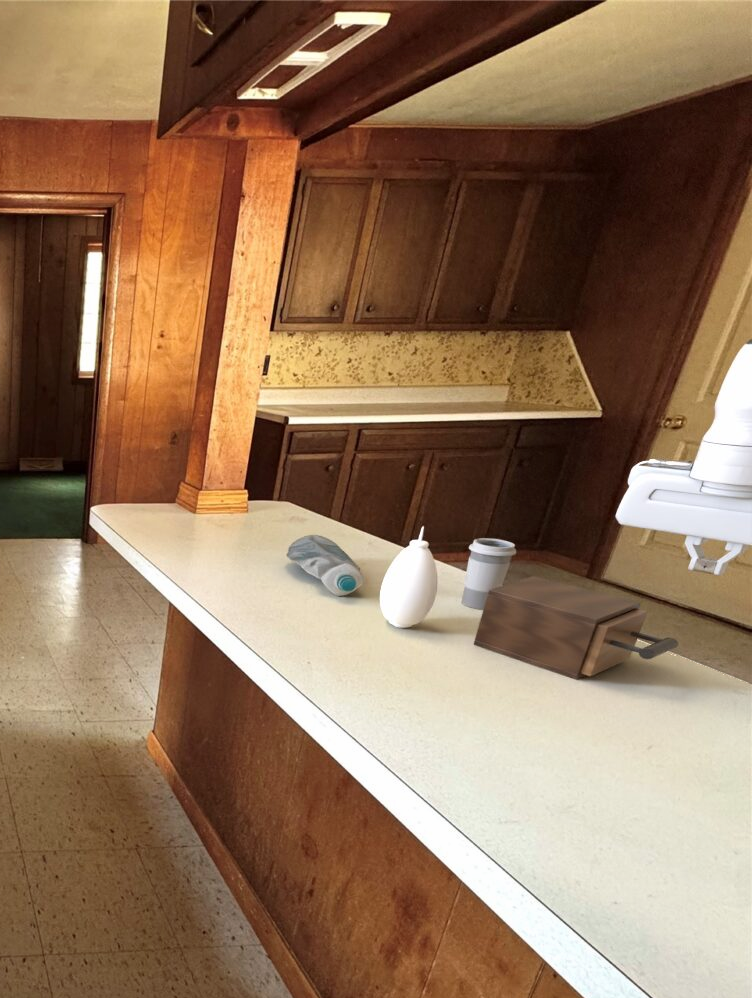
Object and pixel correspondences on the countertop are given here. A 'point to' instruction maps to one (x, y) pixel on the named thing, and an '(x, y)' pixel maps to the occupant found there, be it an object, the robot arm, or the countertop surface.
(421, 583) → the white air blower bulb
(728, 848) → the countertop surface
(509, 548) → the cup
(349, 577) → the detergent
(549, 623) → the cabinet
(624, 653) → the drawer
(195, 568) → the countertop surface
